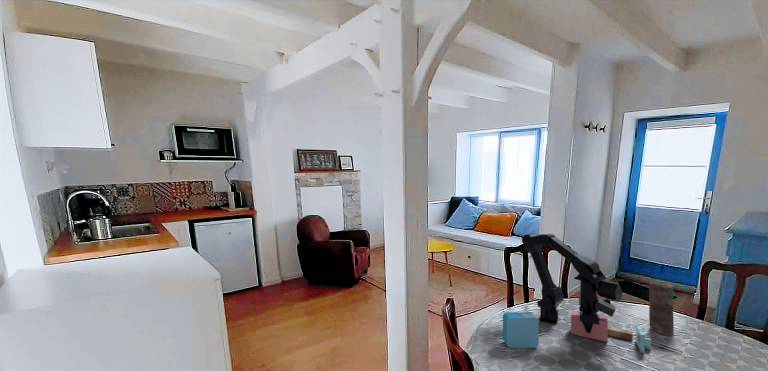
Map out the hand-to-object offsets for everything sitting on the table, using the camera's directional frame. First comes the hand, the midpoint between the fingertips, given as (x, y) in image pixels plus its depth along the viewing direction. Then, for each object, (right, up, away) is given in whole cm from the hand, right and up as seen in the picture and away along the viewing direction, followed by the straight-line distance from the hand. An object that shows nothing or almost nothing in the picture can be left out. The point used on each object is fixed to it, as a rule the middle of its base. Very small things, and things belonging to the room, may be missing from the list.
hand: (588, 330), depth 120 cm
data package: (-30, -4, -5) cm, 30 cm away
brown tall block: (+32, -2, +3) cm, 32 cm away
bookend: (+15, -2, -9) cm, 17 cm away
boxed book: (0, -2, 0) cm, 2 cm away
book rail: (+8, -2, +2) cm, 8 cm away
